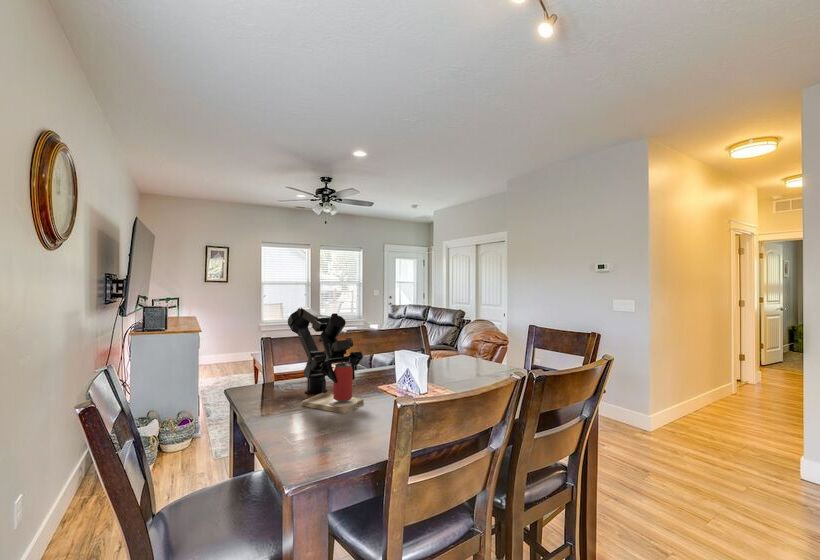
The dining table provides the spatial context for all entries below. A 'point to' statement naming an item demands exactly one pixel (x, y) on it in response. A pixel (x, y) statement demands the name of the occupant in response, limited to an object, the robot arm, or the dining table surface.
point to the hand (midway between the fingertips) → (345, 380)
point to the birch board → (332, 403)
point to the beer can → (343, 382)
